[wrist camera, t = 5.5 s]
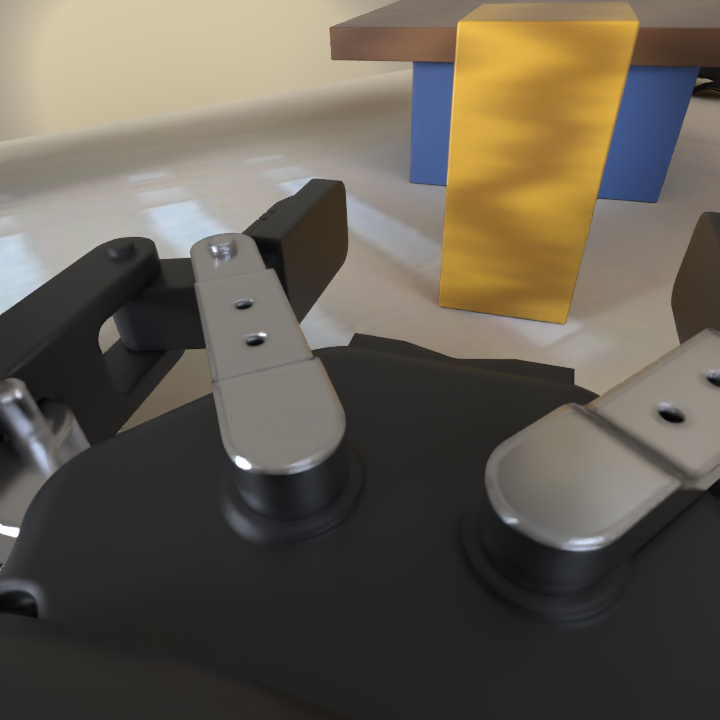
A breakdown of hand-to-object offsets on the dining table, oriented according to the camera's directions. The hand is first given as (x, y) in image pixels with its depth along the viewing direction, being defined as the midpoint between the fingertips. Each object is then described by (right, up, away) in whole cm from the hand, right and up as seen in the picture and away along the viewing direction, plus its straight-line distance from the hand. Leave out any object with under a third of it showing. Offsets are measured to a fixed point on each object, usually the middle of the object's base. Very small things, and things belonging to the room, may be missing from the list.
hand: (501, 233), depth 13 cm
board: (+8, +17, +19) cm, 27 cm away
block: (+3, 0, +10) cm, 11 cm away
